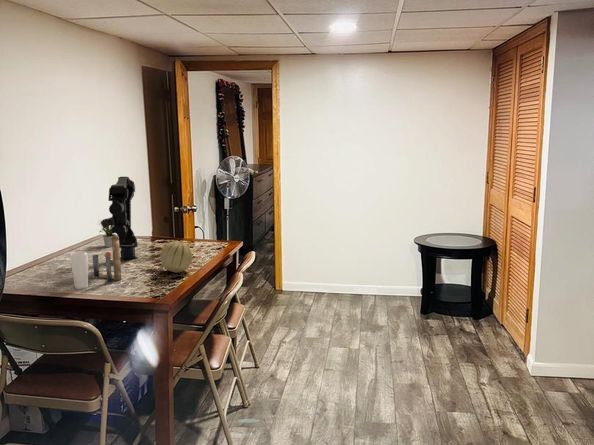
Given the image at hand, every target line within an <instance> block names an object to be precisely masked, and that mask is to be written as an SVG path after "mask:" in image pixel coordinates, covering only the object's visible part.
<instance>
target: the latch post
mask: <svg viewBox="0 0 594 445" xmlns="http://www.w3.org/2000/svg"><path fill="white" fill-rule="evenodd" d="M111 256H112V254H111V252H110V251H107V252H105V253H104V257H105V266H106V267H105V269H106V274H107V278H106V281H105V282H104V283H105V284H110V285H111V284H114V283H115V281H116V280H114V279H112V274H113V273H112V261H111V260H112V258H111Z"/></svg>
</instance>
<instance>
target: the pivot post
mask: <svg viewBox="0 0 594 445" xmlns="http://www.w3.org/2000/svg"><path fill="white" fill-rule="evenodd" d="M99 263H100V262H99V254H93V255H92V268H93V275H91V278H92V279H99V278H101V277H99V273H100V264H99Z"/></svg>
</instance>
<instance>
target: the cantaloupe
mask: <svg viewBox="0 0 594 445" xmlns="http://www.w3.org/2000/svg"><path fill="white" fill-rule="evenodd" d="M159 259H160V263H161V264H160V265H161V266H162V267H163V268H164V269H165V270H167V271H170V272H171V273H182V272H185V271H186V270H188V269H189V267H190V266H191V265H192V262H193V250H191V247H190V246H189V245H188V244H186V243H184V242H183V240H181V239H180V241H177V240H176V241H175V240H174V241H170V242H168V243H167V244H166V245H164V247H163V248H162V250H161V252H160V255H159Z"/></svg>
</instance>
